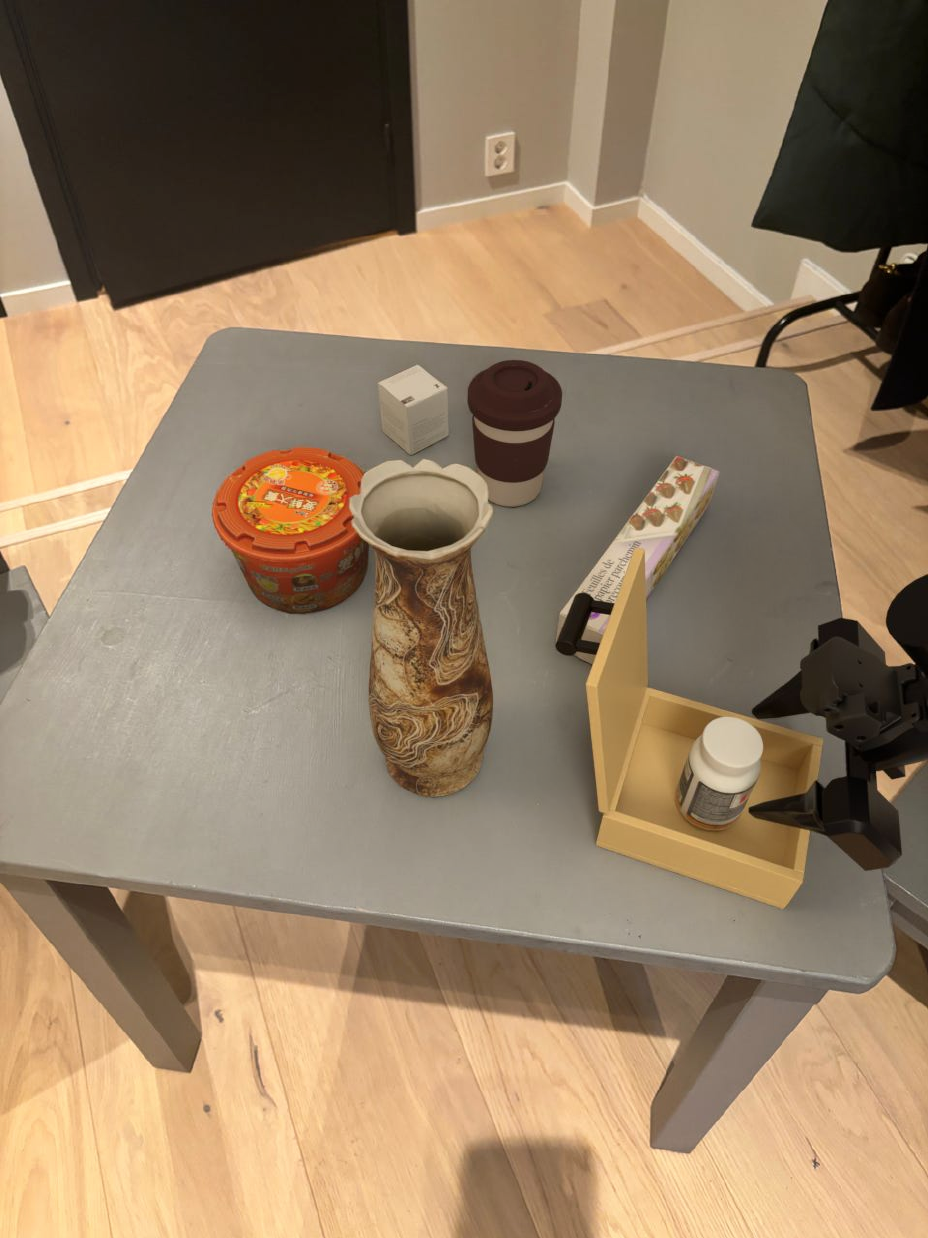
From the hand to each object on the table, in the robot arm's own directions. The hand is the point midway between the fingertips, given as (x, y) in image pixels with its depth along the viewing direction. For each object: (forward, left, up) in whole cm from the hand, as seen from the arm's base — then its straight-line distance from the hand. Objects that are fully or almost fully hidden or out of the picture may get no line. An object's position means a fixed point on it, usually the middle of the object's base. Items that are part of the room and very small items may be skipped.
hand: (752, 761), depth 71 cm
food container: (+47, -13, -9) cm, 50 cm away
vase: (+26, +3, -9) cm, 28 cm away
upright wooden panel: (+11, 0, +5) cm, 12 cm away
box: (+14, -25, -9) cm, 30 cm away
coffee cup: (+31, -33, -9) cm, 46 cm away
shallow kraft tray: (+2, 0, -8) cm, 9 cm away
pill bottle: (+2, 0, -8) cm, 8 cm away
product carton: (+45, -38, -9) cm, 59 cm away
